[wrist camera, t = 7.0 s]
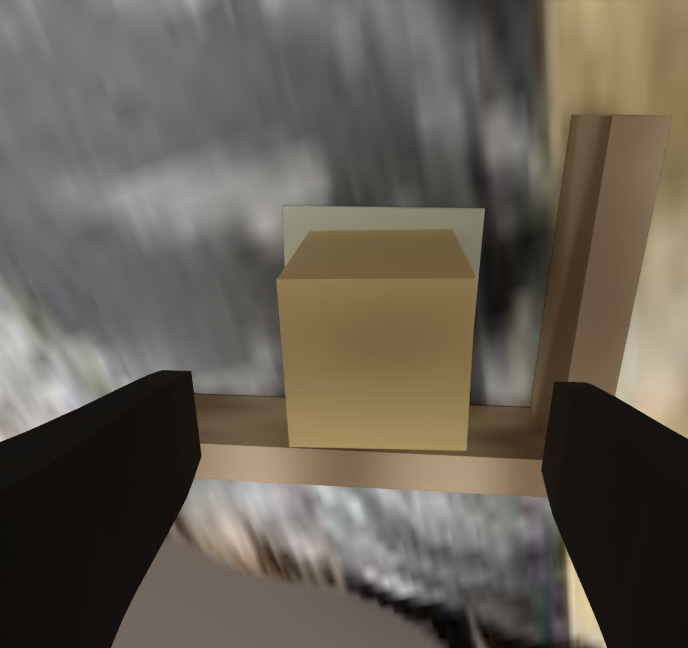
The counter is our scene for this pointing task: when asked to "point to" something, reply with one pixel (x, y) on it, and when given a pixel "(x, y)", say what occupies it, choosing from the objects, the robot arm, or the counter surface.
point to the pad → (385, 224)
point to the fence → (553, 354)
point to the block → (377, 339)
